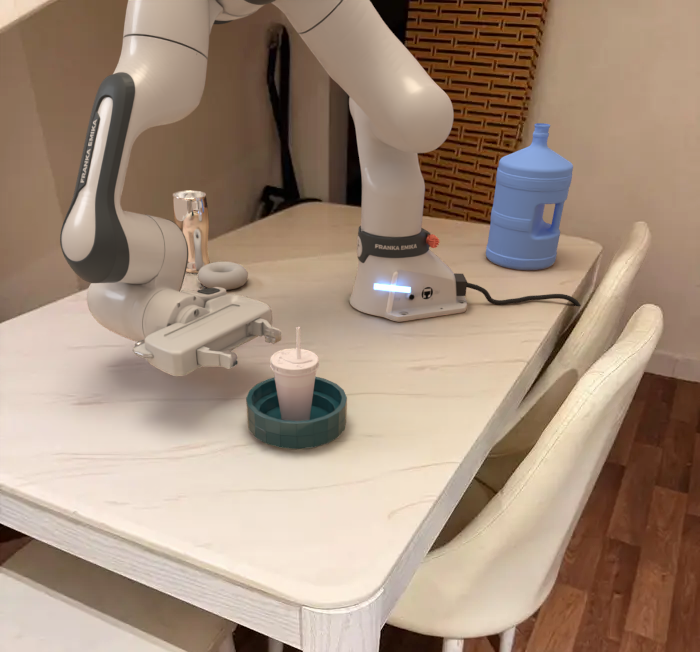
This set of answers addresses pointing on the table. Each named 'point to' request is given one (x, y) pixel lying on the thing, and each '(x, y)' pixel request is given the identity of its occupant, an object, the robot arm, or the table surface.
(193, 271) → the beer glass
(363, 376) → the table surface
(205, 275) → the donut
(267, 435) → the bowl
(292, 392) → the smoothie
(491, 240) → the water jug
